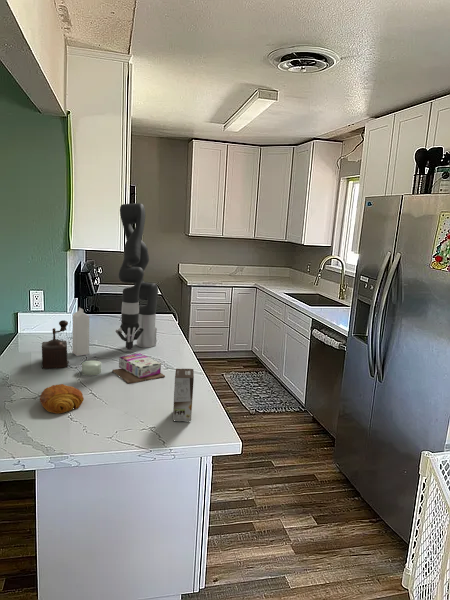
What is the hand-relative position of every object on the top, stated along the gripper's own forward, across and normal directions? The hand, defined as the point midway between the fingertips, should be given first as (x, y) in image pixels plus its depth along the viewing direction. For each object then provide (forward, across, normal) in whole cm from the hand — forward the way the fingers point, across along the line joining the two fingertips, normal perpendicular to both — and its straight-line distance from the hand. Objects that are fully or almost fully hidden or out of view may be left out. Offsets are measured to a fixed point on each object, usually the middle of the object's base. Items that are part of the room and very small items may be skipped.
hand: (129, 349), depth 200 cm
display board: (+8, 0, +11) cm, 13 cm away
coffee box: (+8, +4, +54) cm, 55 cm away
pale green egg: (+8, +17, 0) cm, 19 cm away
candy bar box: (+5, 0, 0) cm, 5 cm away
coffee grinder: (+8, +27, -18) cm, 33 cm away
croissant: (+8, +37, +27) cm, 47 cm away
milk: (+8, +13, -26) cm, 30 cm away
